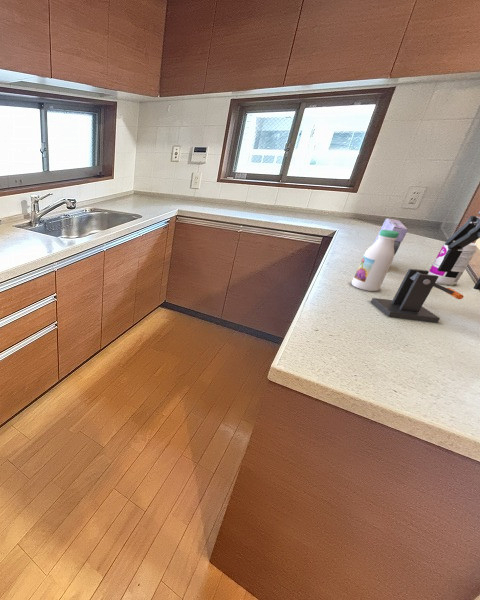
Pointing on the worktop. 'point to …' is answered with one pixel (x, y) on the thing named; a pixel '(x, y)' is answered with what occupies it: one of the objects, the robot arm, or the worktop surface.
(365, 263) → the milk bottle
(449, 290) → the switch lever
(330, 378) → the worktop surface
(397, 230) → the cake pan box
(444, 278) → the supplement can
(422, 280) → the switch base
